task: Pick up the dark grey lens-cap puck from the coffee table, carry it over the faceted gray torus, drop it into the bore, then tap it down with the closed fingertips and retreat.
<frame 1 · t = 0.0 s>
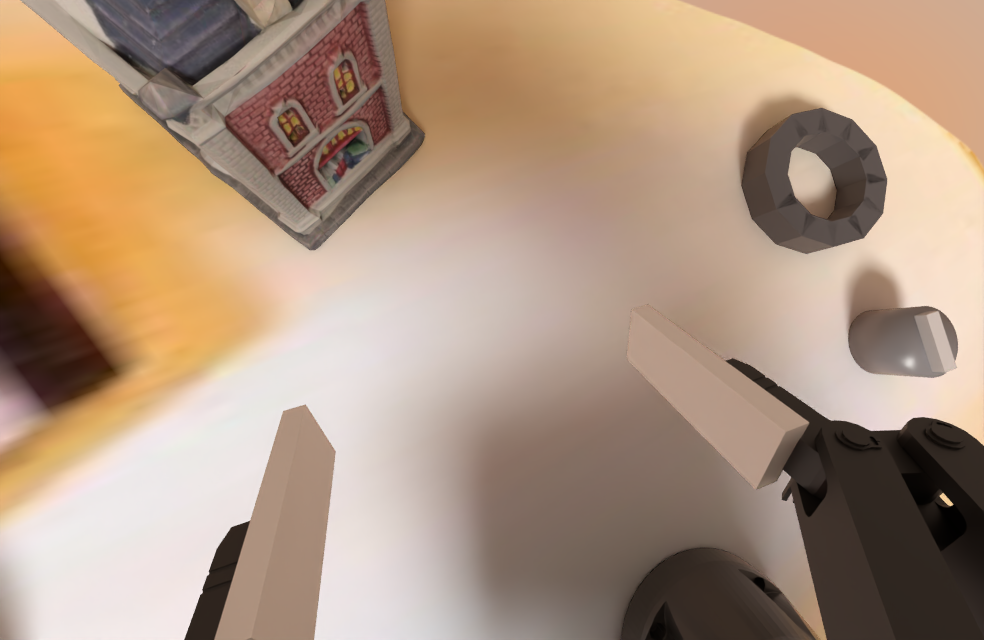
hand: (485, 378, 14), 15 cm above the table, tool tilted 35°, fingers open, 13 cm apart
faceted gray torus: (800, 188, 35), on the table
cap: (874, 342, 35), on the table
model building: (287, 121, 29), on the table
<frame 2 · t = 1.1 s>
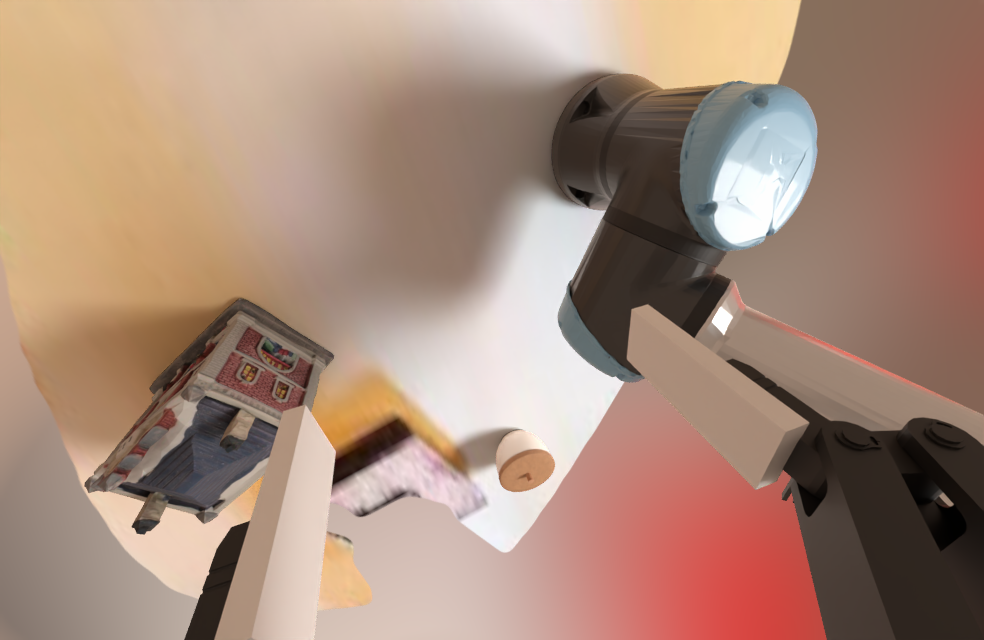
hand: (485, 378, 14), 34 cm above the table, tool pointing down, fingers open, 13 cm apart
lidded jar: (514, 439, 70), on the table
model building: (248, 368, 48), on the table
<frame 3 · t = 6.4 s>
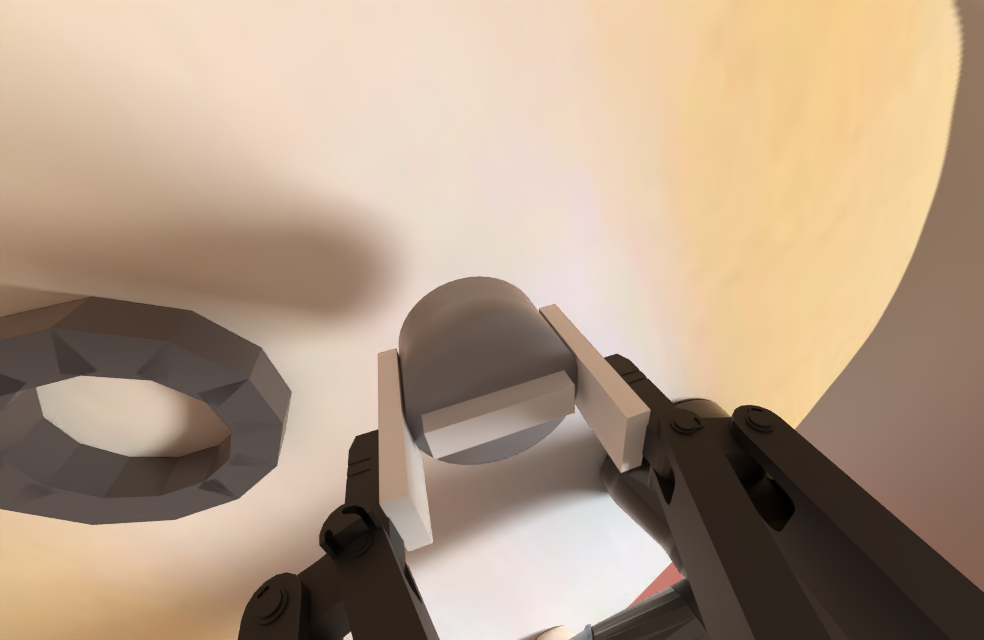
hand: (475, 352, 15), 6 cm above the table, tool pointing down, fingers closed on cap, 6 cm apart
lidded jar: (550, 632, 67), on the table
faceted gray torus: (151, 406, 19), on the table
cap: (471, 341, 16), point 6 cm above the table, touching gripper
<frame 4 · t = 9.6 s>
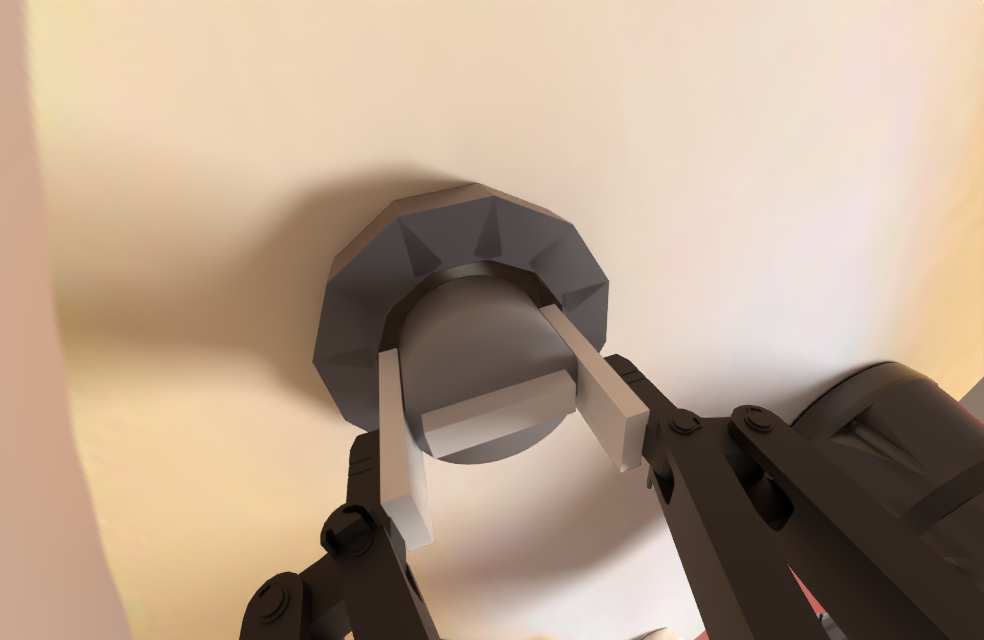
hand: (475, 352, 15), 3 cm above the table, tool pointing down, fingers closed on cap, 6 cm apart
lidded jar: (653, 634, 63), on the table
faceted gray torus: (465, 322, 18), on the table
cap: (471, 340, 16), point 2 cm above the table, touching gripper
when the fingers open (3 cm above the table, at t = 10.9 s): cap drops 2 cm, resting in faceted gray torus.
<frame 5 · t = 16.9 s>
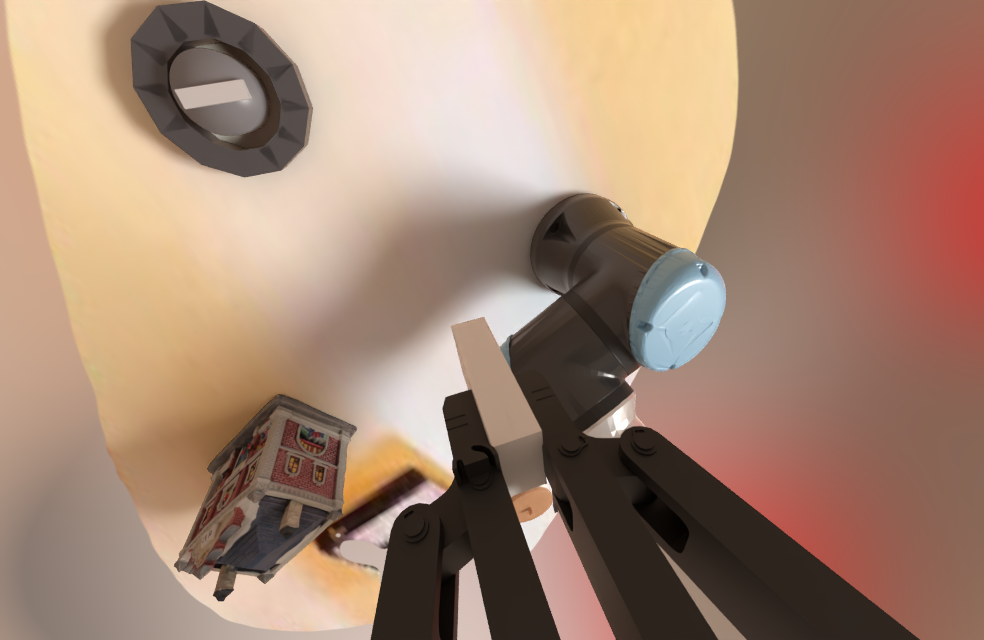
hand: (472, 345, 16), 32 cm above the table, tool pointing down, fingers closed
lidded jar: (516, 474, 79), on the table
faceted gray torus: (235, 98, 33), on the table
cap: (231, 95, 33), resting in faceted gray torus
model building: (286, 444, 57), on the table
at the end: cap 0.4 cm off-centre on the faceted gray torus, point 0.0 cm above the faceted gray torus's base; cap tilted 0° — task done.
